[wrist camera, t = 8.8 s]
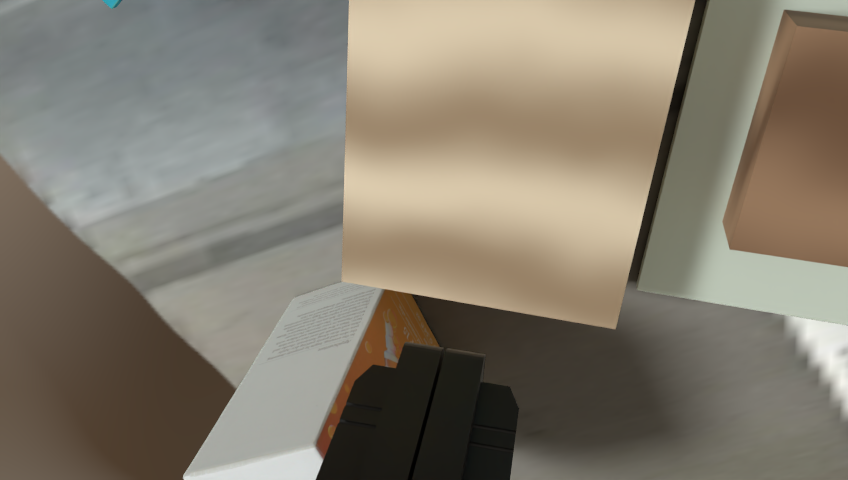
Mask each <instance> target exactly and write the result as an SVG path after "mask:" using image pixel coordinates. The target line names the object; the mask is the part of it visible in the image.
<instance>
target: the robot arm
mask: <svg viewBox="0 0 848 480" xmlns="http://www.w3.org/2000/svg"><path fill="white" fill-rule="evenodd" d="M484 366H485V354H481V353H475V352H469V351H462V350H456V349H450V348H447V349H446V352H445V355H444V348H443V347H436V346H430V345H424V344H418V343H411V342H405V343H404V346H403V348H402V351H401V354H400V357H399V360H398V363H397V366H396V368H392V367H386V366H380V365H372V366H371V367H370V368H368V369H367V370H366V371H365V372H364V373H363V374H362V375H361V376H360V377H359V378H357V379H356V380H355V381H354V384H353V386H352V389H351V392H350V394H349V397H348V399H347V402H346V406H345V407H344V409H343V412H342V414H341V417H340V421H339V423H338V424H337V427H336V429H335V432H334V434H333V437H332V439H331V442H330V444H329V447H328V450H327V452H326V455H325V457H324V460H323V462H322V465H321V467H320V470H319V472H318V475H317V477H316V480H510V474H511V466H512V458H513V450H514V442H515V434H516V426H517V418H518V410H519V408H518V406H517V403H516V401H515V398H514V396H513V394H512V391H511V389H510V387H508V386H502V385H496V384H490V383H484V382H483V374H484Z"/></svg>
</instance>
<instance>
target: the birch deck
mask: <svg viewBox="0 0 848 480" xmlns="http://www.w3.org/2000/svg"><path fill="white" fill-rule="evenodd" d="M694 4H695V0H349V27H348V64H347V102H346V139H345V176H344V213H343V250H342V282H347V283H353V284H359V285H364V286H370V287H376V288H382V289H387V290H393V291H399V292H404V293H410V294H416V295H422V296H427V297H433V298H439V299H445V300H450V301H456V302H462V303H467V304H473V305H479V306H485V307H490V308H496V309H502V310H508V311H513V312H519V313H525V314H530V315H536V316H542V317H548V318H553V319H559V320H565V321H571V322H576V323H582V324H588V325H593V326H599V327H605V328H611V329H616V325H617V321H618V317H619V313H620V309H621V305H622V301H623V296H624V292H625V288H626V284H627V280H628V276H629V272H630V268H631V263H632V259H633V255H634V251H635V247H636V243H637V239H638V235H639V230H640V226H641V222H642V218H643V214H644V210H645V206H646V202H647V197H648V193H649V189H650V185H651V181H652V177H653V173H654V169H655V164H656V160H657V156H658V152H659V148H660V144H661V140H662V136H663V132H664V127H665V123H666V119H667V115H668V111H669V107H670V103H671V99H672V94H673V90H674V86H675V82H676V78H677V74H678V70H679V66H680V61H681V57H682V53H683V49H684V45H685V41H686V37H687V33H688V28H689V24H690V20H691V16H692V12H693V8H694Z"/></svg>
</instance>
